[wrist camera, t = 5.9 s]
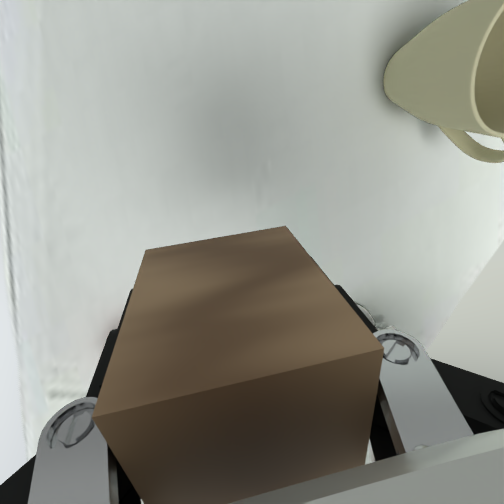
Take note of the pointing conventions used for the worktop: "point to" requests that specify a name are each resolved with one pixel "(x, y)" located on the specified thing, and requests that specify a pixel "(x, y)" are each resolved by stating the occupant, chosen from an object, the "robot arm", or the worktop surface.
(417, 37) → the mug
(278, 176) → the worktop surface
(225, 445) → the walnut block
